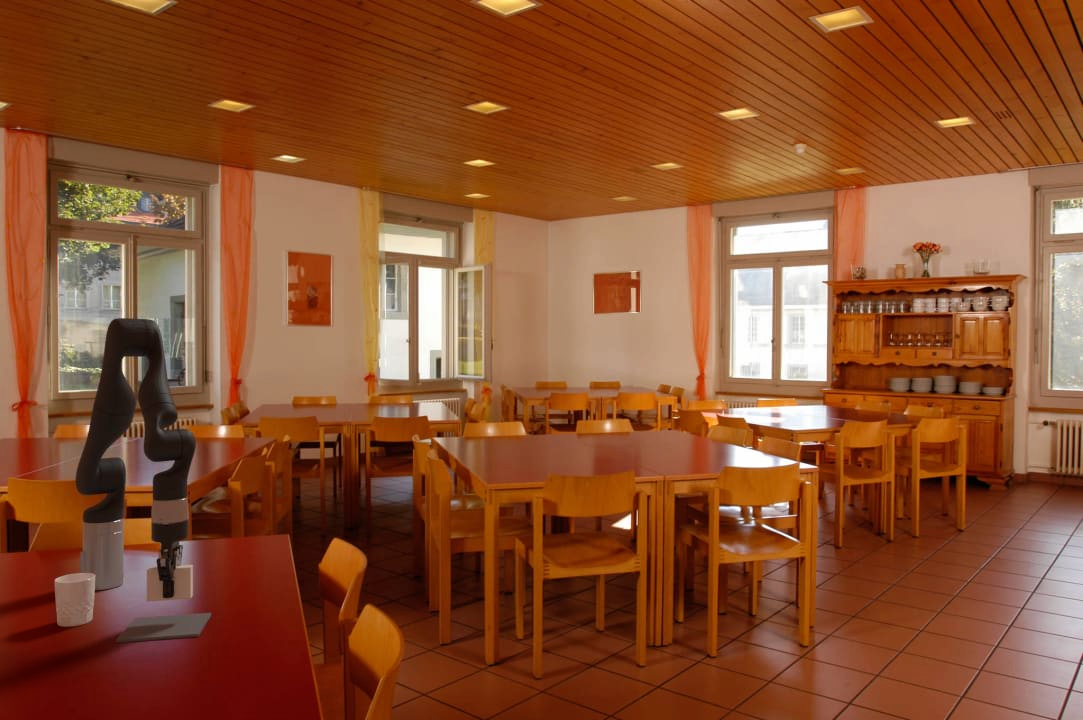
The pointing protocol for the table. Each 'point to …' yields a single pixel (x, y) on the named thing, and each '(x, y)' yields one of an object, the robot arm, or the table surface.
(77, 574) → the white cup
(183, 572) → the beige flat block
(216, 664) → the table surface
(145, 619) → the mat
